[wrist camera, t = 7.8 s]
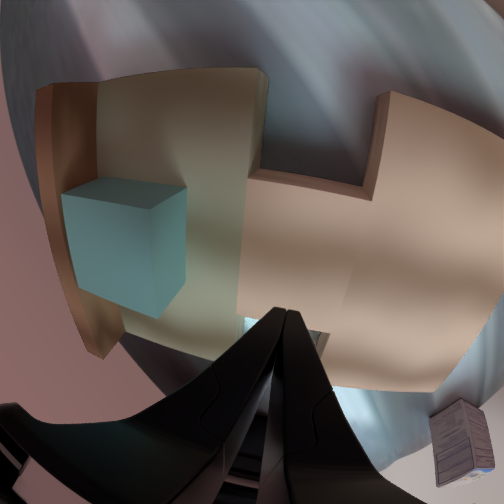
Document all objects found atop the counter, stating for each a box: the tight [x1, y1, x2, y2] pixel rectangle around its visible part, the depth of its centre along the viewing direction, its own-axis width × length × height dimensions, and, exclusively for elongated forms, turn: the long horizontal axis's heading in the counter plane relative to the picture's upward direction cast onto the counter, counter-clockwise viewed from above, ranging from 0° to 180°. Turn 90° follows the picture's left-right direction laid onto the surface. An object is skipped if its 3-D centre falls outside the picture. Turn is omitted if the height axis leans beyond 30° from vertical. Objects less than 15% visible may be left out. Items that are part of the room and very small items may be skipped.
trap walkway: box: [35, 67, 504, 392], centre depth 12 cm, size 16×24×6 cm, turn 84°
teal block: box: [61, 176, 187, 319], centre depth 11 cm, size 5×5×3 cm
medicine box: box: [429, 399, 495, 488], centre depth 14 cm, size 8×4×9 cm, turn 58°
